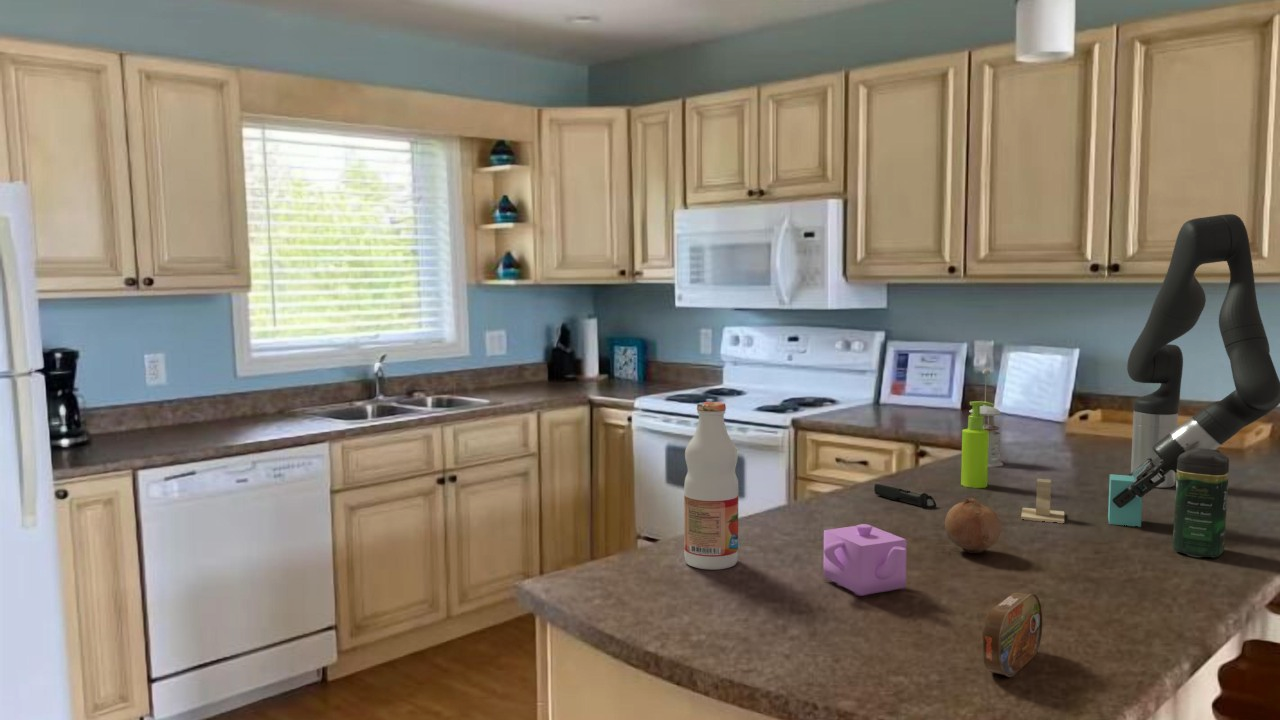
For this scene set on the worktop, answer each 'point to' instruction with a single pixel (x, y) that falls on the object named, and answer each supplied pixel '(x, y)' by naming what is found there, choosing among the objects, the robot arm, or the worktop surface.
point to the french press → (991, 431)
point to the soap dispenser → (975, 449)
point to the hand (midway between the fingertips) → (1115, 500)
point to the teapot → (864, 559)
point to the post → (1043, 505)
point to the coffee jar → (1201, 503)
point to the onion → (972, 526)
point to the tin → (1012, 633)
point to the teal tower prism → (1128, 512)
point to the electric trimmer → (905, 496)
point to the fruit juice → (711, 493)
